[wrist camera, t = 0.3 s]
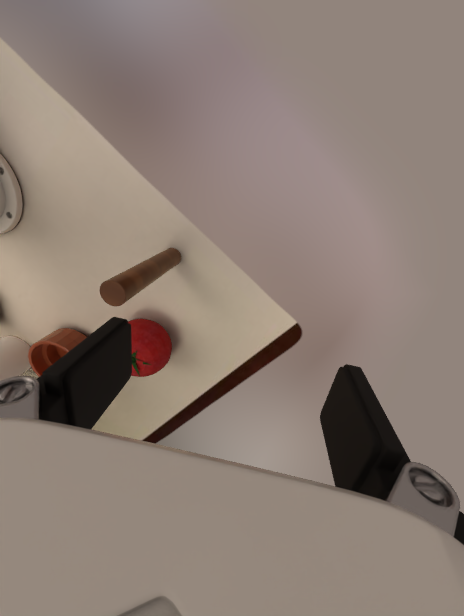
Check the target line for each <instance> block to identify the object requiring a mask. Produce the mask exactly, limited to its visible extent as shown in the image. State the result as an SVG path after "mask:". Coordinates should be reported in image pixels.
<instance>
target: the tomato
mask: <svg viewBox="0 0 464 616" xmlns="http://www.w3.org/2000/svg"><path fill="white" fill-rule="evenodd" d="M128 323H130V324H131V336H132V374H131V375H132V376H138V377H144V376H149V375H152V374H154V373H156V372H158V371H159V370H161V369H162V368H163V367H164V366H165V365H166V364H167V362H168V361H169V359H170V355H171V350H172V343H171V339H170V337H169V335H168V333H167V332H166V330H165V329H164V328H163V327H162V326H161V325H159V324H158V323H156V322H154V321H151V320H147V319H135V320H132V321H129V322H128Z"/></svg>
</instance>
